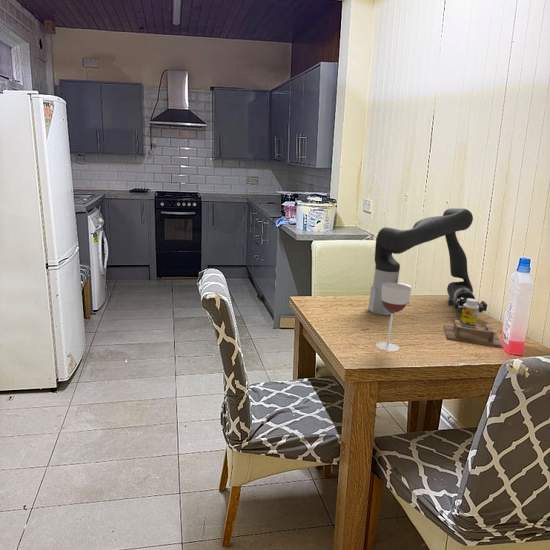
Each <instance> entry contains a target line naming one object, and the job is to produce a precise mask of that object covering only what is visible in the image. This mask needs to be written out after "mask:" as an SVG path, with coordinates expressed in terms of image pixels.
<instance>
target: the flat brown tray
mask: <svg viewBox="0 0 550 550" xmlns="http://www.w3.org/2000/svg"><path fill="white" fill-rule="evenodd" d="M460 321H461V320H459V319H454V321H453V322H454V323H453V326H452V325H446V324H444V325H443V331H444V334H445V338H446V340H450V341H456V342H461V343H462V342H463V343H470V344H477V345H481V344H482V345H481V346H483V345H484V346H488V345H489V347H494V346H498V347H497V348H501V347H500V346H502V345H503V344H502V345H501V343H502V341H501V339H500V338H499V336H498V335H497V333H496V332H495V331H494V330H493V327H492V326H491V324H485V325H484V328H483V329H479V328H474V327H473V328H470V327H465V326H462V325H461V324H460Z"/></svg>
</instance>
